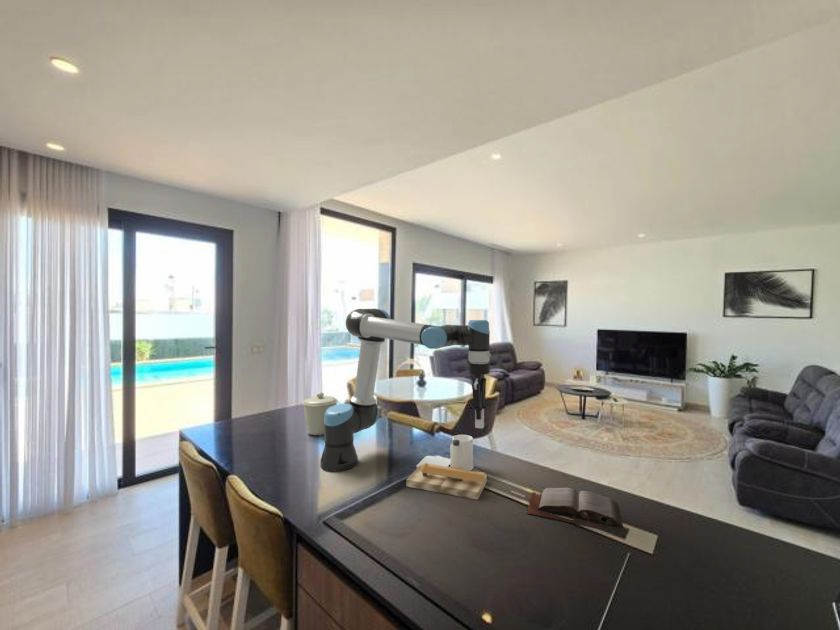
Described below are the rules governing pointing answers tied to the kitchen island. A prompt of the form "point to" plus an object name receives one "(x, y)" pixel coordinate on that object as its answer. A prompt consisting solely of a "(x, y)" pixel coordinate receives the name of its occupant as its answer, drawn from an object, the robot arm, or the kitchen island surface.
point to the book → (575, 507)
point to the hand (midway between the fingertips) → (479, 427)
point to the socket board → (445, 484)
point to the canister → (317, 412)
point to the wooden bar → (453, 472)
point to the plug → (456, 456)
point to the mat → (435, 461)
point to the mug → (466, 450)
